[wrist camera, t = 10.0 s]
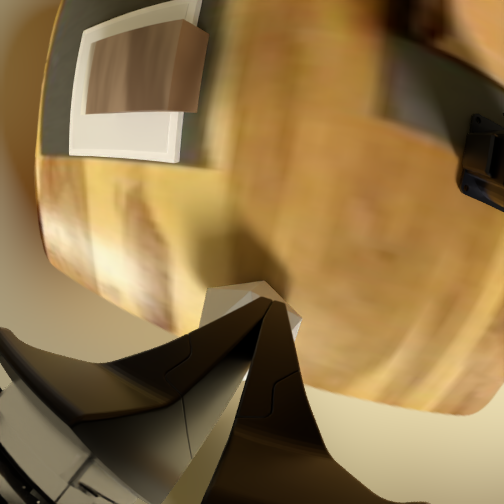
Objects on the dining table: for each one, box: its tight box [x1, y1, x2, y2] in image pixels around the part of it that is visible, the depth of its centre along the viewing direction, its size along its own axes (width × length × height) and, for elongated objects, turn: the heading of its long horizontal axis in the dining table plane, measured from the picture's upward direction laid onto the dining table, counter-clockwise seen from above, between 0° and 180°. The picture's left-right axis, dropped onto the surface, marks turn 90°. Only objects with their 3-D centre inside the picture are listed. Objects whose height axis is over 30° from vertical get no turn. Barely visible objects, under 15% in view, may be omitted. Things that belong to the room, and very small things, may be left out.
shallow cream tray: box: [69, 0, 202, 163], centre depth 20 cm, size 16×16×1 cm
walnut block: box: [80, 19, 209, 115], centre depth 17 cm, size 4×7×10 cm
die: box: [199, 280, 302, 381], centre depth 22 cm, size 8×9×10 cm
